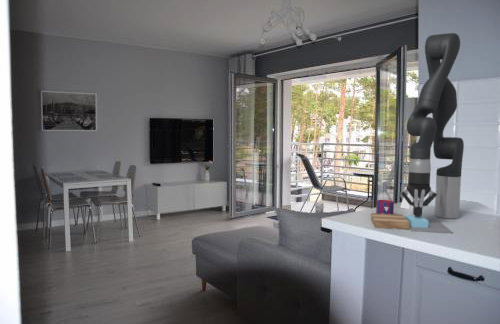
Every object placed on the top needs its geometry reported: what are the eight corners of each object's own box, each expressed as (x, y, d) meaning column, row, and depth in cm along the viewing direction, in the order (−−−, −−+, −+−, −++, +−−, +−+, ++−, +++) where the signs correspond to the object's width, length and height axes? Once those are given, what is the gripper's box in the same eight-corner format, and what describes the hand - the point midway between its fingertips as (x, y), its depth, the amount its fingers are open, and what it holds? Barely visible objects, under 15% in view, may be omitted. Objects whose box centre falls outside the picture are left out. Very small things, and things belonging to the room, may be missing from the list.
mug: (377, 218, 159) (378, 202, 158) (373, 213, 169) (374, 198, 168) (394, 219, 158) (395, 202, 157) (389, 214, 168) (390, 198, 167)
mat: (402, 220, 155) (402, 219, 155) (440, 222, 153) (440, 221, 153) (410, 231, 140) (410, 229, 140) (453, 233, 137) (453, 232, 137)
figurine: (420, 208, 181) (422, 170, 179) (405, 209, 179) (406, 170, 177) (410, 205, 187) (412, 168, 186) (395, 206, 186) (397, 168, 184)
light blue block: (404, 221, 153) (404, 215, 152) (420, 222, 152) (420, 215, 152) (411, 227, 144) (411, 220, 143) (428, 227, 143) (428, 221, 143)
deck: (370, 219, 157) (371, 213, 157) (402, 220, 155) (402, 214, 155) (375, 227, 144) (375, 221, 144) (409, 229, 142) (409, 222, 141)
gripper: (435, 170, 148) (433, 215, 150) (398, 169, 151) (397, 213, 152) (441, 172, 141) (438, 219, 142) (402, 171, 143) (400, 217, 145)
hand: (417, 216), depth 147 cm, fingers closed
